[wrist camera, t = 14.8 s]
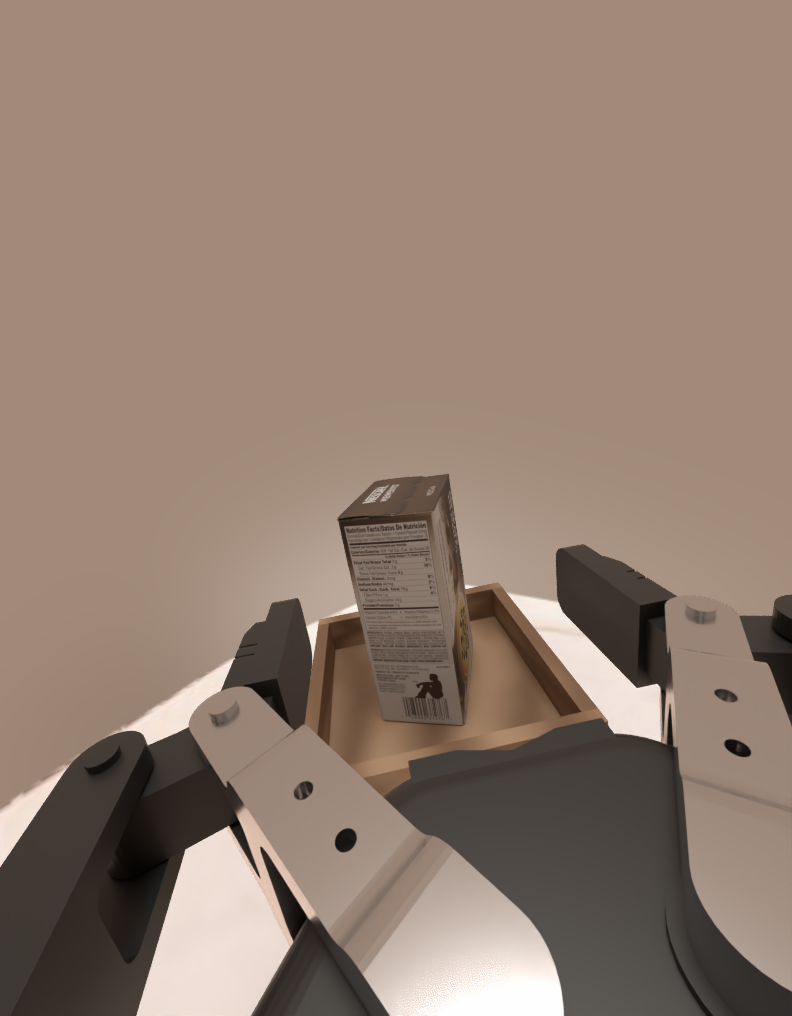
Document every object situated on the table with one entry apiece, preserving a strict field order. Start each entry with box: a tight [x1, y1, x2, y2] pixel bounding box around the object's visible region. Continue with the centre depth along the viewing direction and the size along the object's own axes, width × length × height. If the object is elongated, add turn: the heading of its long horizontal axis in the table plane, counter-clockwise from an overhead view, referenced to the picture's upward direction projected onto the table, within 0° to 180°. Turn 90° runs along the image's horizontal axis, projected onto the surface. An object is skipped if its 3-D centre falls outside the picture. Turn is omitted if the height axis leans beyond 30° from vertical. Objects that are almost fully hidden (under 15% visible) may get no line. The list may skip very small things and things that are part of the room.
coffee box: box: [337, 474, 473, 725], centre depth 31 cm, size 9×6×16 cm
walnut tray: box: [305, 583, 608, 797], centre depth 32 cm, size 18×18×4 cm
